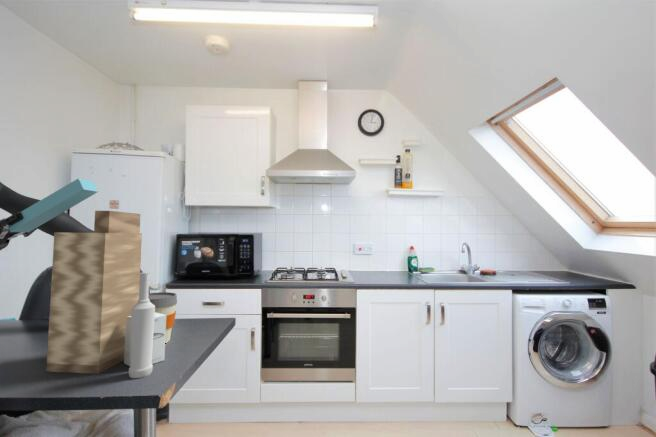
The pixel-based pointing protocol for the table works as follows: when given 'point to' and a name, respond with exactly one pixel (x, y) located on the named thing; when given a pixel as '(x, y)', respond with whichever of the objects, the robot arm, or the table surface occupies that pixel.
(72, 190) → the long light blue beam
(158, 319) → the supplement box
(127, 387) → the table surface
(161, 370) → the table surface
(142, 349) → the bottle
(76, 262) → the brown tall stepped block
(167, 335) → the reusable coffee cup
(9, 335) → the table surface
